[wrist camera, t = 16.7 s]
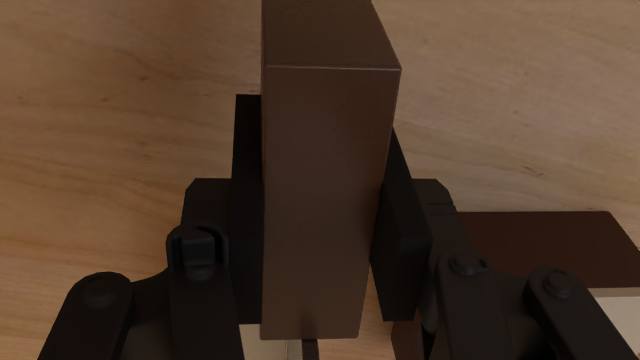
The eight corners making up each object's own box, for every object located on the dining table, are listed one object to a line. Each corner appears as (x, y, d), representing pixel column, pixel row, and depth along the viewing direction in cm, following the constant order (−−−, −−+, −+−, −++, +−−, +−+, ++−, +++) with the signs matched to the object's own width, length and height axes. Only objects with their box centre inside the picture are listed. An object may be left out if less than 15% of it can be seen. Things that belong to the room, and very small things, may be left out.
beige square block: (552, 333, 37) (597, 420, 32) (390, 338, 36) (411, 429, 31) (610, 211, 31) (675, 296, 27) (418, 212, 30) (450, 301, 25)
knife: (261, -14, 16) (263, 89, 11) (367, -10, 17) (415, 93, 12) (256, 441, 30) (256, 580, 25) (315, 438, 30) (327, 575, 25)
